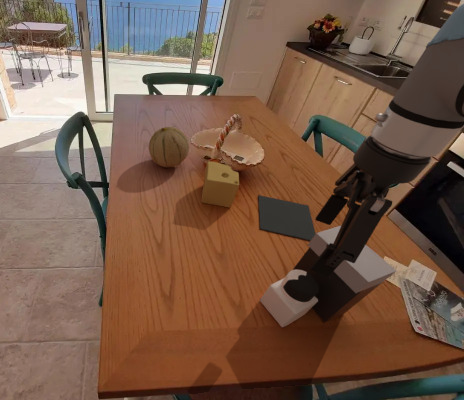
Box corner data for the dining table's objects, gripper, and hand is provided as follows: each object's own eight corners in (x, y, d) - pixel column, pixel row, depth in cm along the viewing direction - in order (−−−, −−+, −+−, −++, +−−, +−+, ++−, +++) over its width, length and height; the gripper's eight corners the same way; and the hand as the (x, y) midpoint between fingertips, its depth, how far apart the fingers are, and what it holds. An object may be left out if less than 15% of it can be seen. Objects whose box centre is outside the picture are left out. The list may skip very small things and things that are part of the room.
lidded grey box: (319, 324, 60) (368, 282, 48) (282, 279, 68) (316, 232, 56) (343, 314, 62) (397, 270, 50) (304, 271, 70) (342, 224, 58)
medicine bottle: (304, 315, 61) (331, 288, 53) (281, 328, 59) (307, 302, 51) (280, 288, 66) (302, 260, 58) (258, 300, 63) (278, 272, 55)
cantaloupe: (191, 172, 100) (199, 136, 90) (154, 177, 96) (157, 140, 86) (177, 151, 110) (182, 117, 100) (143, 155, 107) (145, 120, 97)
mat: (317, 242, 77) (317, 241, 77) (259, 229, 80) (260, 228, 80) (307, 206, 89) (308, 205, 89) (258, 195, 92) (258, 194, 91)
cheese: (231, 189, 94) (239, 165, 87) (231, 209, 86) (240, 186, 79) (201, 183, 95) (207, 160, 88) (199, 203, 87) (205, 179, 80)
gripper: (362, 106, 45) (305, 199, 59) (375, 185, 29) (292, 287, 43) (415, 117, 43) (342, 211, 57) (464, 211, 26) (344, 310, 40)
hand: (321, 244), depth 50 cm, fingers open, 13 cm apart
